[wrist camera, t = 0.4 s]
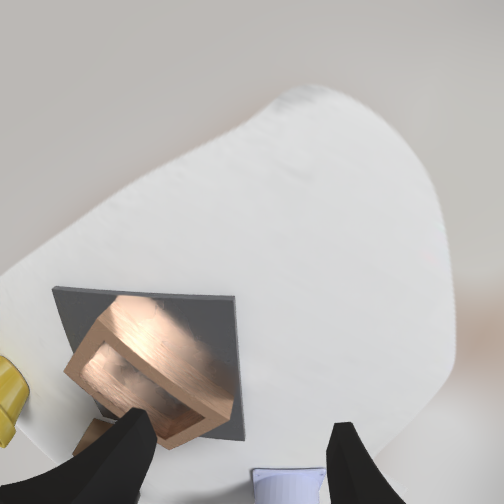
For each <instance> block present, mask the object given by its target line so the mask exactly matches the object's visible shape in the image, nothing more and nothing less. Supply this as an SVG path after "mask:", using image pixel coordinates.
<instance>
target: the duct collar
mask: <svg viewBox="0 0 504 504" xmlns="http://www.w3.org/2000/svg"><path fill="white" fill-rule="evenodd" d="M52 292H53V296H54V299H55V302H56V306H57V309H58V312H59V315H60V318H61V321H62V324H63V327H64V330H65V333H66V335H67V338H68V341H69V343H70V346H71V348H72V351H73V354H74V355H73V356H72V358H71V360H70V361H69V363H68V365H67V366H66V368H65V370H64V371H63V372H65V373H66V374H67V375H68V376H69V377H70V378H71V379H72V380H73V381H74V382H76V383H77V384H78V385H79V386H80V387H81V388H82V389H84V390H85V391H86V392H87V393H88V394H90V395H91V396H92V397H93V398H94V400H95V402H96V404H97V406H98V408H99V410H100V412H101V414H102V415H103V417H107V418H110V419H114V420H117V421H118V420H119V419H120V418H121V417H122V416H123V415H124V414H125V413H126V412H128V411H129V410H130V409H131V408H132V407H135V408H139V409H144V410H146V412H147V414H148V417H149V419H150V421H151V424H152V426H153V429H154V431H155V433H156V436H157V438H158V440H157V443H158V444H160V445H161V446H163V447H165V448H166V449H168V450H171V449H173V448H175V447H177V446H180V445H182V444H184V443H186V442H188V441H190V440H192V439H194V438H196V437H205V438H214V439H223V440H235V441H245V426H244V414H243V402H242V390H241V377H240V364H239V350H238V336H237V321H236V306H235V296H214V295H184V294H161V293H141V292H125V291H110V290H96V289H83V288H71V287H60V286H55V287H54V288H52Z"/></svg>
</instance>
